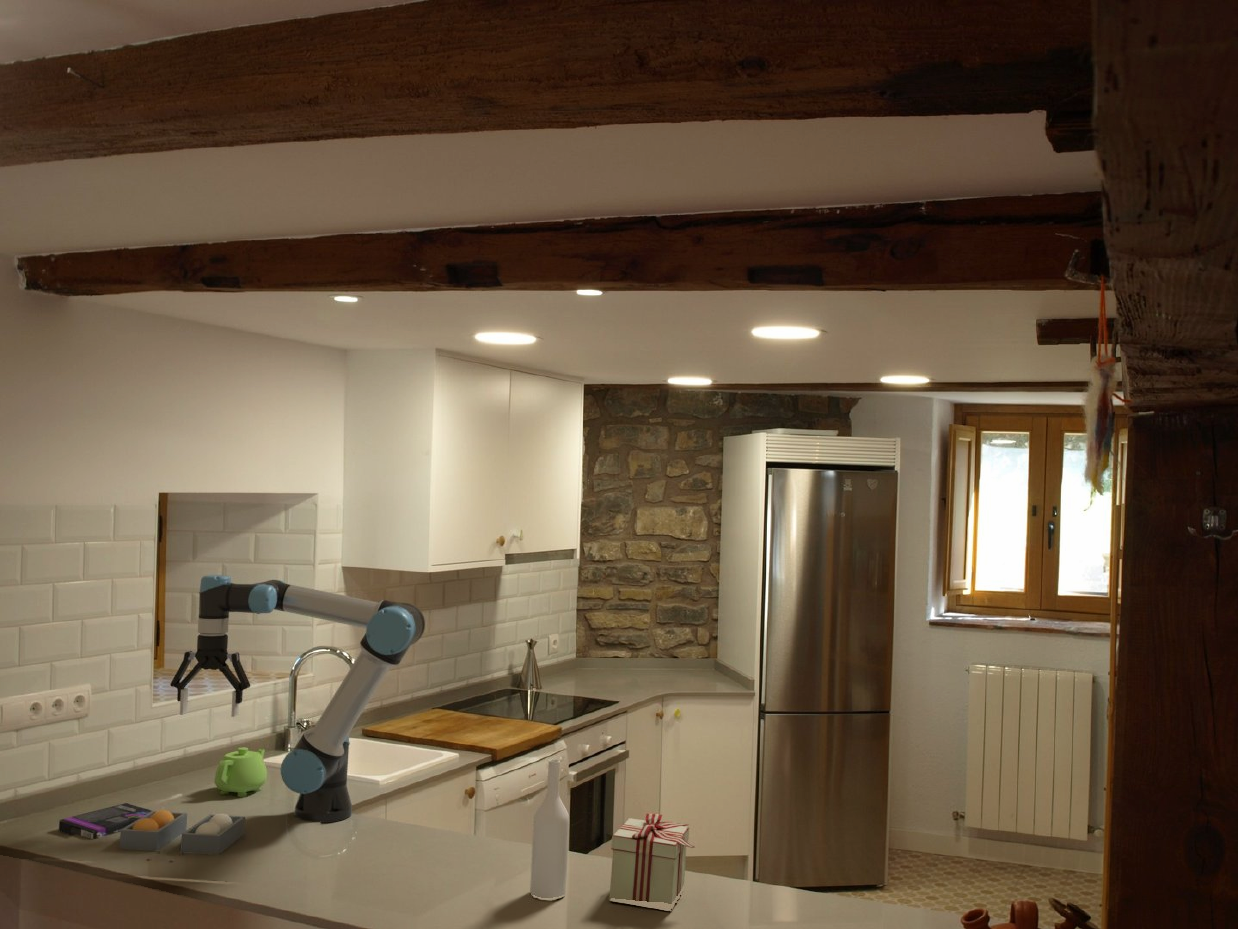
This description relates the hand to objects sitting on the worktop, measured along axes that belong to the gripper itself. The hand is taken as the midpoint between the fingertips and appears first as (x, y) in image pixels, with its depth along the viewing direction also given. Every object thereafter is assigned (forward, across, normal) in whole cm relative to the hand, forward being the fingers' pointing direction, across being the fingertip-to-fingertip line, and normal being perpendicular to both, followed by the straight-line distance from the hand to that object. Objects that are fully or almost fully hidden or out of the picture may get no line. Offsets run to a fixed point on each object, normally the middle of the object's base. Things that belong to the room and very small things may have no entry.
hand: (209, 715), depth 275 cm
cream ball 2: (+28, -9, +13) cm, 32 cm away
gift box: (+30, -118, +34) cm, 126 cm away
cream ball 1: (+28, -9, +20) cm, 35 cm away
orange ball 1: (+28, +6, +19) cm, 34 cm away
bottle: (+30, -93, +37) cm, 105 cm away
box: (+29, +22, +6) cm, 36 cm away
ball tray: (+28, -1, +19) cm, 34 cm away
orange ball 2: (+28, +6, +12) cm, 31 cm away
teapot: (+28, +2, -30) cm, 41 cm away
